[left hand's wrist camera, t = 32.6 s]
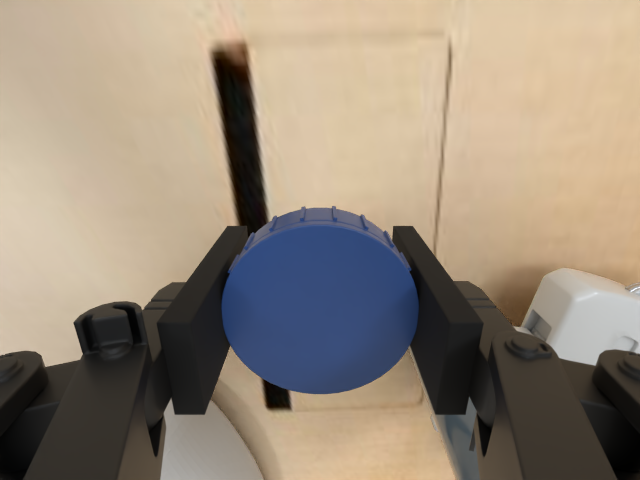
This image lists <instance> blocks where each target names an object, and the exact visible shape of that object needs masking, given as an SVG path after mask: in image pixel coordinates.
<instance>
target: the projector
mask: <svg viewBox="0 0 640 480" xmlns="http://www.w3.org/2000/svg"><path fill="white" fill-rule="evenodd" d="M164 417H165V422H166V435H165V444H164V452H163V461H162V469H161V478H160V480H264V479H263V476H262V474H261V472H260V469H259V467H258V465H257V463H256V461H255V459H254V458H253V456H252V454H251V453H250V451H249V449H248V447H247V446H246V444H245V443H244V441H243V440H242V438H241V437H240V435H239V434H238V432H237V431H236V429H235V428H234V427H233V425H232V424H231V423H230V421H229V420H228V419H227V417H226V416H225V415H224V414H223V412H222V411H221V410H220V409H219V408H218V407H217V406H216V404H215V403H214V402H213V401H212V400H210V402H209V405H208V408H207V410H206V413H205V415H175V414H174V409H173V404H172V399H170V401H169V403H168V405H167V407H166V409H165V411H164Z"/></svg>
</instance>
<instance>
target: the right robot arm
mask: <svg viewBox="0 0 640 480" xmlns="http://www.w3.org/2000/svg"><path fill="white" fill-rule="evenodd" d="M513 327H514V328H515V329H516V330H517V331H519V332H523V333H527V334H530V335H533V336H535V337H537V338H539V339H542V340H543V341H544V342H546V343H547V344H549V345H550V346H551V347H552V348H553V349H554V350H555V352H556V353H557V355H558V357H559V358H561V359H565V360H570V361H575V362H580V363H585V364H590V365H595V366H596V363H597V360H598V357H599V354H601V353H602V352H603V351H605V350H613V349H617V350H624V351H631V352H635V353H637V354H638V353H639V354H640V282H639V283H634V284H632V285H629V286H625V285H623V284H621V283H618V282H616V281H613V280H610V279H608V278H605V277H601V276H598V275H595V274H591V273H588V272H584V271H580V270H575V269H570V268H560V269H557V270H555V271H552V272H550V273H548V274H546V275H545V276H544V277H543V279H542V281H541V283H540V285H539V287H538V289H537V292H536V294H535V296H534V298H533V300H532V303H531V305H530V307H529V309H528V312H527V314H526V316H525V318H524V320H523V323H522V325H521V327H516V326H513ZM431 421H432V423H433V426H434V429H435V430H436V431H437V432H438V429H437V427H436V424H435V421H434V418H433V416H432V414H431Z"/></svg>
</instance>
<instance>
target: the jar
mask: <svg viewBox="0 0 640 480" xmlns="http://www.w3.org/2000/svg"><path fill="white" fill-rule="evenodd" d="M408 349H409V352H410V354H411V357H412V360H413V363H414V366H415V368H416V371H417V374H418V377H419V379H420V382H421V385H422V388H423V391H424V393H425V396H426V399H427V402H428V404H429V407H430V410H431V413H432V416H433V418H434V421H435V424H436V427H437V429H438V432H439V435H440V438H441V441H442V443H443V446H444V449H445V452H446V454H447V457H448V460H449V463H450V466H451V468H452V471H453V474H454V477H455V479H456V480H480V477H479V468H478V460H477V451H476V444H475V448H474V452H473V451H469V446H470V441H471V436H472V431H473V426H474V422H475V417H476V412H477V411H476V409H475V407H474V405H473V403H472V401H471V399H470V397H469V400H468V405H467V410H466V415H435V412H434V410H433V407H432V404H431V402H430V399H429V396H428V393H427V391H426V388H425V385H424V382H423V380H422V377H421V374H420V372H419V369H418V366H417V363H416V361H415V358H414V355H413V352H412V350H411V347H410V346H409V347H408Z"/></svg>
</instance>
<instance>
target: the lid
mask: <svg viewBox="0 0 640 480" xmlns="http://www.w3.org/2000/svg"><path fill="white" fill-rule="evenodd" d="M409 271H411V268H410V266H409V264H408V262H407V260H406V259H405V257H404V255H403V253H402V252H401V253H399V251H398V249H397V248H396V246H395V245H394V243H393V242H392V240H391V238H390V236H389V234H388V232H387V231H386V230H385V231H384V232H383V231H382V230H381V229H380V228H378V227H377V226H376V225H374V224H373V223H371V222H370V221H368V220H366V219H365V216H364V215H362V214H361V216H358V215H355V214H353V213H350V212H347V211H343V210H339V209H336V207H335V206H332V209H331V208H309V209H305V207H302V208H301V210H298V211H294V212H290V213H287V214H285V215H282V216H280V217H278V218H277V216H274V217H273V219H272V221H271V222H269V223H267V224H266V225H265V226H263V227H262V228H261V229H259V230H258V231H257V232H256V233H255V234H254V233H253V232H252V234H251V235H250V237H249V239H248V241H247V243H246V244H245V246H244V248H243V250H242V252H241V254H240V255H238V254H237V256H236V257H235V259H234V261H233V263H232V265H231V267H230V269H229V271H228V273H230V275H229V277H228V279H227V281H226V284H225V287H224V290H223V295H222V300H221V310H222V319H223V327H224V331H225V334H226V337H227V339H228V341H229V343H230V345H231V347H232V349H233V350H234V352H235V353H236V355H237V356H238V357H239V358H240V360H241V361H242V362H243V363H244V364H245V365H246V366H247V367H248V368H249V369H250V370H252V371H253V372H254V373H256V374H257V375H258V376H260V377H261V378H263V379H265V380H266V381H268V382H270V383H272V384H275V385H277V386H279V387H282V388H285V389H288V390H291V391H296V392H301V393H309V394H331V393H339V392H344V391H349V390H352V389H355V388H358V387H361V386H364V385H366V384H368V383H370V382H372V381H374V380H376V379H377V378H379V377H381V376H382V375H383V374H385V373H386V372H387V371H389V370H390V369H391V368H392V367H393V366H394V365H395V364H396V363H397V362H398V361H399V360H400V359H401V358H402V356H403V355H404V354H405V352H406V351H407V349H408V347H409V346H410V344H411V342H412V340H413V337H414V335H415V332H416V328H417V321H418V313H419V299H418V294H417V289H416V286H415V283H414V281H413V278H412V276H411V274H410V272H409Z"/></svg>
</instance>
